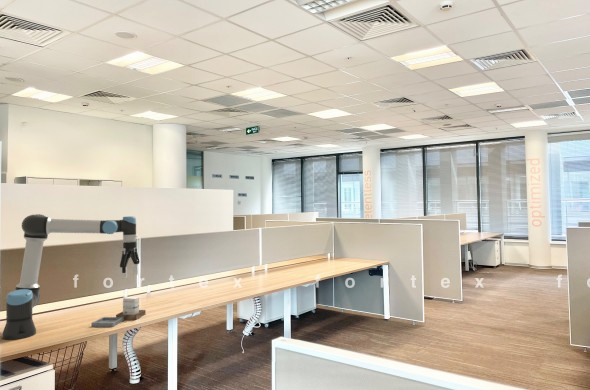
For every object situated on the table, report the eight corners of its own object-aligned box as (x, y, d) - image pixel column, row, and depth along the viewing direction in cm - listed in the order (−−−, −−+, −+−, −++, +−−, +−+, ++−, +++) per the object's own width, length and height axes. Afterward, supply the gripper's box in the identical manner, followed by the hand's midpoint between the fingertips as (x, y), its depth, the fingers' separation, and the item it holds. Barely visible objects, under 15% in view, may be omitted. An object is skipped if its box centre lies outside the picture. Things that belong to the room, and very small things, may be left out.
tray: (91, 326, 240) (91, 322, 240) (103, 320, 253) (103, 317, 253) (113, 326, 239) (113, 322, 239) (123, 320, 252) (123, 317, 252)
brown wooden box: (115, 319, 254) (115, 314, 254) (125, 314, 267) (125, 309, 267) (136, 319, 253) (136, 314, 253) (145, 314, 266) (145, 309, 266)
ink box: (139, 316, 261) (139, 297, 262) (134, 318, 256) (134, 299, 257) (127, 315, 263) (127, 296, 264) (122, 317, 259) (122, 298, 259)
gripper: (125, 243, 245) (125, 279, 245) (144, 239, 270) (145, 273, 269) (113, 243, 246) (113, 280, 245) (133, 240, 271) (134, 273, 270)
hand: (130, 276), depth 257 cm, fingers open, 13 cm apart
